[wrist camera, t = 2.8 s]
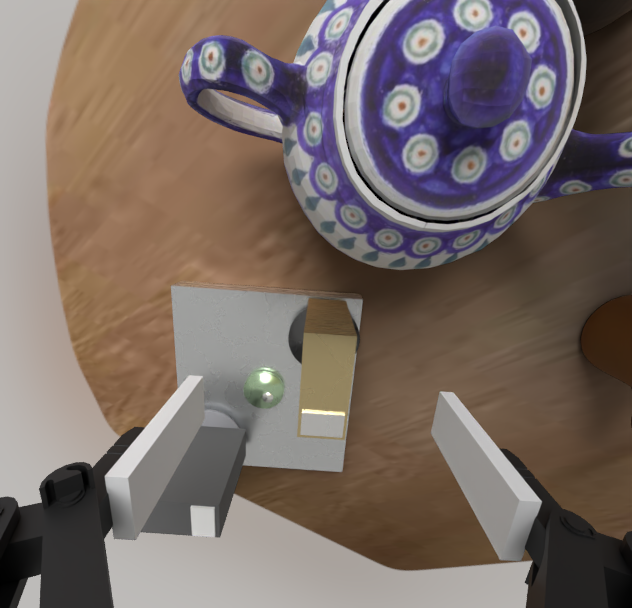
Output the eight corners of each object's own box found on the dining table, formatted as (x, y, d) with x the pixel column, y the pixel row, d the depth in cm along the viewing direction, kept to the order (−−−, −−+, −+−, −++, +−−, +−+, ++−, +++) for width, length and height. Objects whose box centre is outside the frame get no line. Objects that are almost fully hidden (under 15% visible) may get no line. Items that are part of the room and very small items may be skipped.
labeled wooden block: (290, 295, 24) (276, 331, 16) (363, 300, 24) (384, 339, 16) (287, 371, 26) (272, 436, 18) (354, 376, 26) (369, 443, 18)
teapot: (219, 223, 25) (78, 227, 10) (247, 2, 21) (74, -509, 6) (499, 286, 26) (725, 369, 11) (579, 90, 22) (1092, -167, 7)
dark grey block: (176, 459, 29) (122, 548, 21) (172, 406, 27) (111, 482, 19) (246, 463, 29) (219, 554, 21) (247, 411, 27) (217, 489, 19)
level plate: (181, 280, 26) (166, 287, 24) (359, 293, 26) (364, 301, 24) (191, 446, 31) (179, 466, 29) (340, 456, 31) (342, 477, 29)
